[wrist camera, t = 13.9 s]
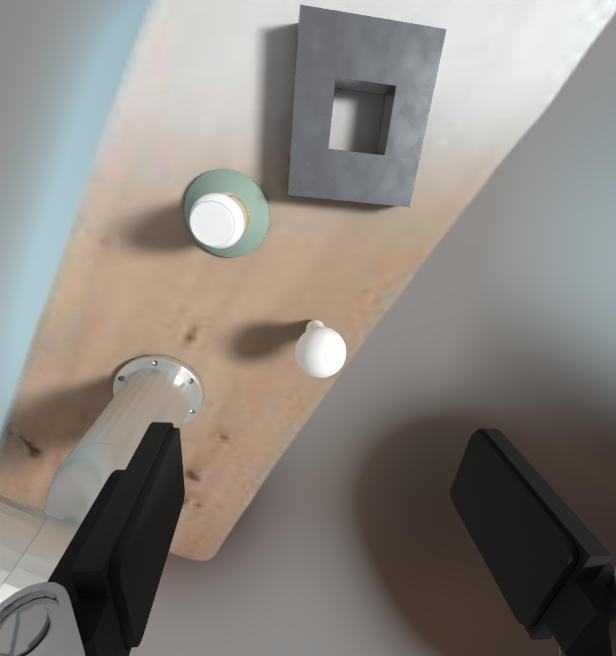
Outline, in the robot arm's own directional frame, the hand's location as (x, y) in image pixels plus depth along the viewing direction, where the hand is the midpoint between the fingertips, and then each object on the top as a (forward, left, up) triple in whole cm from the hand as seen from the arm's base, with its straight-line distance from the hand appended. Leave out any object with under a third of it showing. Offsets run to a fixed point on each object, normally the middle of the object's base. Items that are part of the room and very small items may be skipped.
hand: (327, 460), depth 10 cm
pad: (+4, +8, -34) cm, 35 cm away
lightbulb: (-10, -4, -34) cm, 36 cm away
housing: (+15, -6, -34) cm, 38 cm away
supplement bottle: (+4, +8, -34) cm, 35 cm away
